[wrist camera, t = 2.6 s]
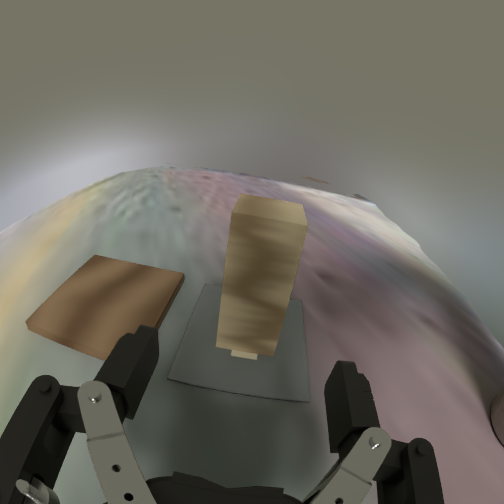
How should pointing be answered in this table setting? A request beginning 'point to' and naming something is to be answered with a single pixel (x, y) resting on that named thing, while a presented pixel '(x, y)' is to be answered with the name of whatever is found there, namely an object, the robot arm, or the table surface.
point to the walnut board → (105, 304)
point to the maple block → (259, 272)
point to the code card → (242, 356)
